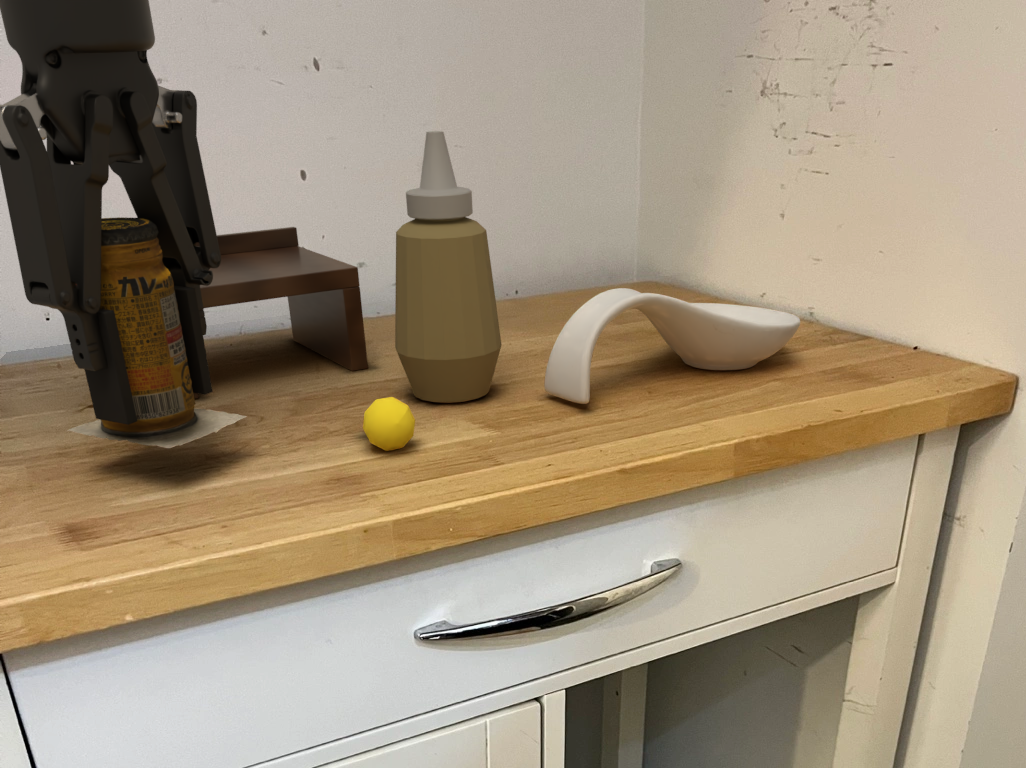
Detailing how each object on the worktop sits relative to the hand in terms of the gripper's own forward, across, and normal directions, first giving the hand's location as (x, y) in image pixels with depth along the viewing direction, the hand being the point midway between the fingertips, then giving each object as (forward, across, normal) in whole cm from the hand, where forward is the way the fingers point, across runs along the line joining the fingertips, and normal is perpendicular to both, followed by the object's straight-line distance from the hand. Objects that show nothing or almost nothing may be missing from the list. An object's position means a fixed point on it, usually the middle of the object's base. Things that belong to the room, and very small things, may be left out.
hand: (156, 404), depth 69 cm
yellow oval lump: (+4, +10, -10) cm, 15 cm away
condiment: (+2, 0, 0) cm, 2 cm away
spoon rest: (+4, +34, -22) cm, 41 cm away
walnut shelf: (+4, +22, +12) cm, 25 cm away
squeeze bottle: (+4, +22, -8) cm, 24 cm away
